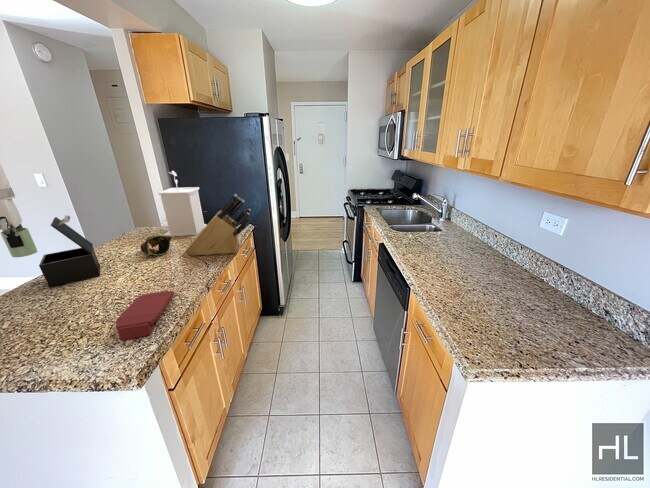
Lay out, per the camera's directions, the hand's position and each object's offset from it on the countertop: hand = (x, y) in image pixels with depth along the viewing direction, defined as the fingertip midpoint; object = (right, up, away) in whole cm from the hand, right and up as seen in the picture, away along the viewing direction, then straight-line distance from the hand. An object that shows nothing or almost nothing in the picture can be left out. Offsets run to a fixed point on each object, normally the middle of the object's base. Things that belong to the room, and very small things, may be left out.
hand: (20, 243), depth 94 cm
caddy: (-4, -15, +25) cm, 30 cm away
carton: (+47, -26, -1) cm, 54 cm away
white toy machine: (+15, +10, +86) cm, 88 cm away
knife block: (+53, -4, +51) cm, 74 cm away
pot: (+19, -5, +49) cm, 53 cm away
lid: (-1, +3, +20) cm, 21 cm away
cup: (0, -4, +2) cm, 4 cm away
